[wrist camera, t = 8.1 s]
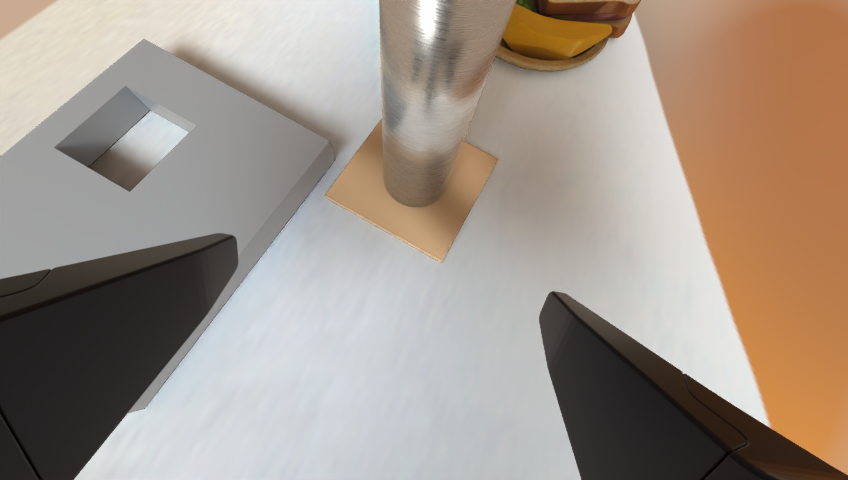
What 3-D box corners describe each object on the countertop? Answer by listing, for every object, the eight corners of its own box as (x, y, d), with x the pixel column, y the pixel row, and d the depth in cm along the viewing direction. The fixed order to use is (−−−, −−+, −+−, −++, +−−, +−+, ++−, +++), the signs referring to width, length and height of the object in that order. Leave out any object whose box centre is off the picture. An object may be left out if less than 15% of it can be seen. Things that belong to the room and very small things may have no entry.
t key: (458, 215, 20) (642, -115, 6) (361, 197, 19) (290, -203, 5) (466, 159, 21) (629, -226, 7) (374, 141, 21) (347, -301, 7)
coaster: (441, 262, 19) (442, 261, 19) (325, 197, 20) (324, 195, 19) (496, 162, 22) (498, 159, 21) (393, 107, 22) (393, 103, 22)
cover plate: (144, 408, 15) (110, 417, 13) (-71, 273, 16) (-132, 264, 14) (335, 159, 20) (329, 140, 19) (165, 65, 21) (143, 38, 19)
